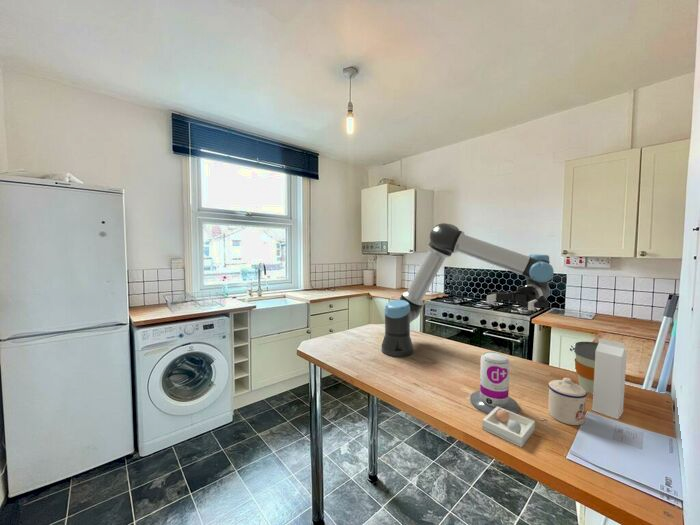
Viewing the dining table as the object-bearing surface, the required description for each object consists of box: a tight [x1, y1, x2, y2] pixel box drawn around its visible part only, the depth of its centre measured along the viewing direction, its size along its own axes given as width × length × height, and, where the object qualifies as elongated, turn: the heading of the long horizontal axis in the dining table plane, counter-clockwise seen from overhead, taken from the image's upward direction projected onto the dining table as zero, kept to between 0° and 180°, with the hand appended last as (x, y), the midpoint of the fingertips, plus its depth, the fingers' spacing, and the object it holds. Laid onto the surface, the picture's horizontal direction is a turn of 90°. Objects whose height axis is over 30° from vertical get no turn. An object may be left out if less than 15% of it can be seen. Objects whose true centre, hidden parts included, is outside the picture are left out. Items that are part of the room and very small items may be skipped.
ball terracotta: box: [497, 410, 509, 422], centre depth 83 cm, size 3×3×3 cm
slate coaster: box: [469, 390, 520, 415], centre depth 94 cm, size 14×14×1 cm
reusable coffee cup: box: [573, 341, 599, 395], centre depth 101 cm, size 12×13×15 cm
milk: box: [592, 338, 628, 420], centre depth 88 cm, size 6×6×22 cm
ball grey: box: [508, 420, 521, 434], centre depth 78 cm, size 3×3×3 cm
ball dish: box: [481, 406, 536, 448], centre depth 81 cm, size 10×10×3 cm
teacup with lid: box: [547, 377, 588, 426], centre depth 87 cm, size 12×9×12 cm
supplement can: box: [479, 351, 510, 408], centre depth 93 cm, size 8×8×15 cm
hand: (507, 302), depth 102 cm, fingers open, 13 cm apart
